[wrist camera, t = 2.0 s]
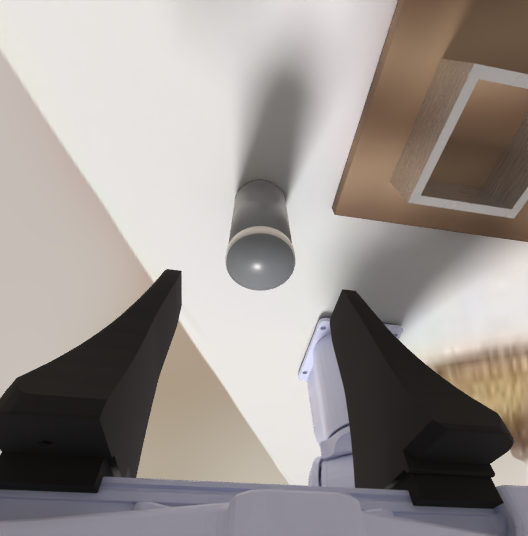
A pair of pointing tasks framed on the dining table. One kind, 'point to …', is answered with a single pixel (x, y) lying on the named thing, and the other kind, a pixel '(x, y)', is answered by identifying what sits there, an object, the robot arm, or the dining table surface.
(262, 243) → the grey domed cylinder
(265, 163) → the dining table surface
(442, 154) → the walnut board
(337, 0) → the dining table surface
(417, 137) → the steel collar
